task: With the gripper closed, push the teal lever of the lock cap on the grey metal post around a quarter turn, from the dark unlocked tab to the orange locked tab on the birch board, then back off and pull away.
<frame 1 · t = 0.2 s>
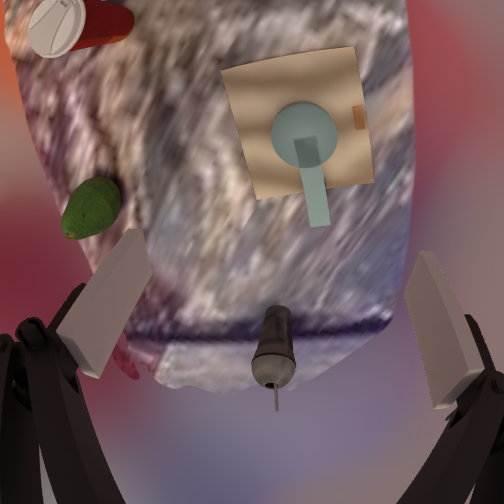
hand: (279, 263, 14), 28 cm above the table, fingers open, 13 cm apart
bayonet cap: (310, 165, 34), point 6 cm above the table, hinge at 0.0°
avocado: (110, 190, 46), on the table
paper cup: (116, 24, 30), on the table
lock base: (302, 122, 36), on the table
beverage cup: (278, 312, 57), on the table
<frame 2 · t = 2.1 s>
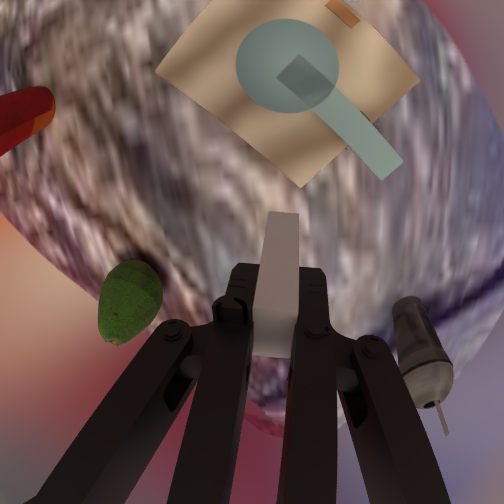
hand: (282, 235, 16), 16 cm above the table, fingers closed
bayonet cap: (325, 99, 20), point 6 cm above the table, hinge at 0.0°
avocado: (146, 270, 41), on the table
paper cup: (40, 107, 28), on the table
lock base: (288, 63, 24), on the table
beverage cup: (406, 306, 39), on the table
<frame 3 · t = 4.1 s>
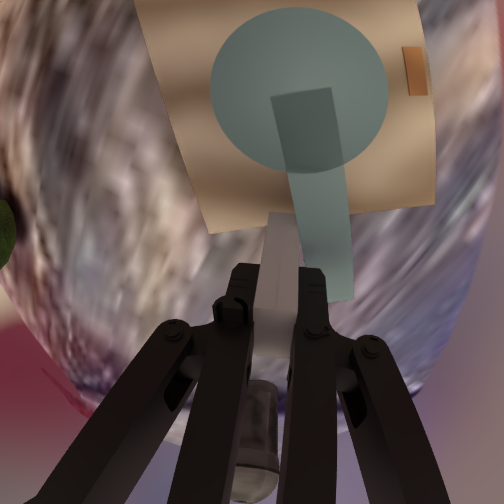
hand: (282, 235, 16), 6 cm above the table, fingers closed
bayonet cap: (315, 166, 14), point 6 cm above the table, hinge at 0.0°, touching gripper
avocado: (9, 212, 26), on the table
lock base: (297, 79, 16), on the table
beverage cup: (259, 387, 37), on the table
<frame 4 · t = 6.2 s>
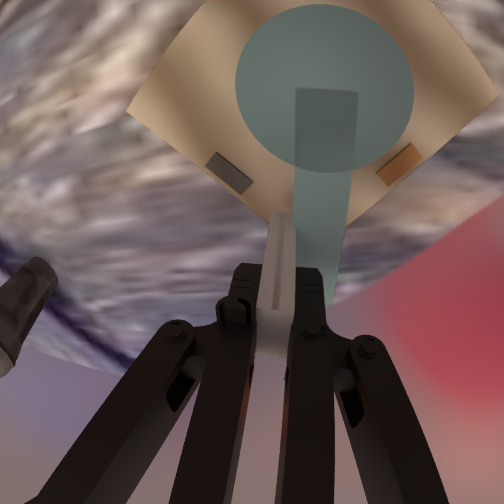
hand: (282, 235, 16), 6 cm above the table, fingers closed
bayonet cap: (321, 166, 14), point 6 cm above the table, hinge at 41.9°, touching gripper
lock base: (317, 78, 16), on the table
beverage cup: (44, 271, 31), on the table
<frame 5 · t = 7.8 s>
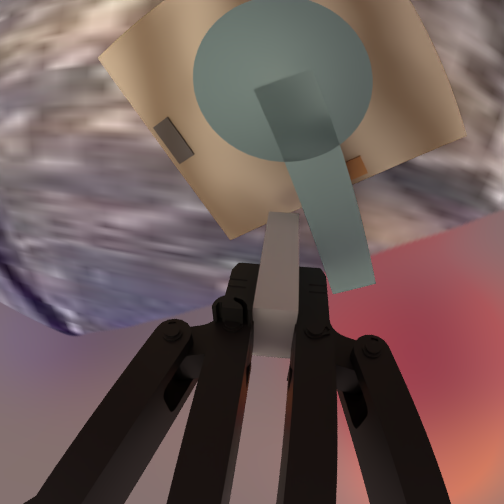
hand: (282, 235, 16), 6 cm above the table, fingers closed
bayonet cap: (313, 152, 13), point 6 cm above the table, hinge at 81.4°
lock base: (286, 71, 16), on the table
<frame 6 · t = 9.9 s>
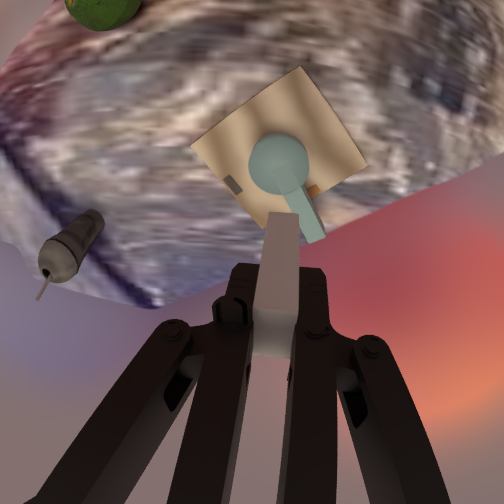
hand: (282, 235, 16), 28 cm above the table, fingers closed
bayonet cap: (293, 188, 37), point 6 cm above the table, hinge at 81.6°
avocado: (125, 7, 29), on the table
lock base: (280, 149, 40), on the table
beverage cup: (94, 220, 50), on the table
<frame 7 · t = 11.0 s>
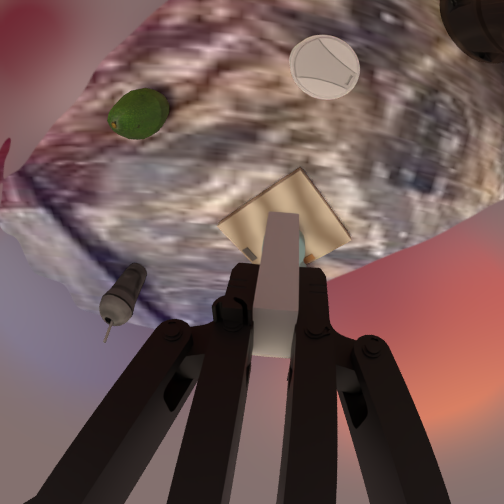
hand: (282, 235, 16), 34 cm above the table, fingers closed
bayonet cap: (294, 263, 53), point 6 cm above the table, hinge at 81.6°
avocado: (154, 107, 45), on the table
paper cup: (316, 64, 39), on the table
lock base: (285, 228, 56), on the table
beverage cup: (138, 270, 67), on the table
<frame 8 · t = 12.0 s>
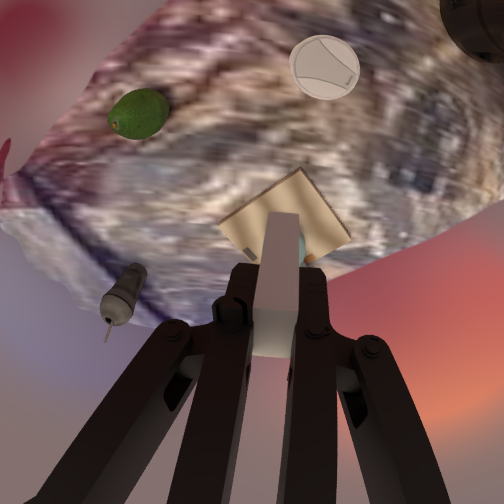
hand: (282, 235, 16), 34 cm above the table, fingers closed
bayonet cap: (294, 263, 53), point 6 cm above the table, hinge at 81.6°
avocado: (155, 107, 45), on the table
paper cup: (316, 65, 39), on the table
lock base: (285, 228, 56), on the table
beverage cup: (138, 270, 67), on the table
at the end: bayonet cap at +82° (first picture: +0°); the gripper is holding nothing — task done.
